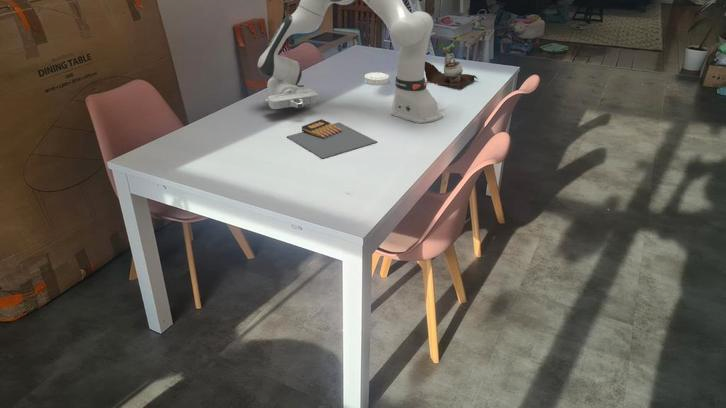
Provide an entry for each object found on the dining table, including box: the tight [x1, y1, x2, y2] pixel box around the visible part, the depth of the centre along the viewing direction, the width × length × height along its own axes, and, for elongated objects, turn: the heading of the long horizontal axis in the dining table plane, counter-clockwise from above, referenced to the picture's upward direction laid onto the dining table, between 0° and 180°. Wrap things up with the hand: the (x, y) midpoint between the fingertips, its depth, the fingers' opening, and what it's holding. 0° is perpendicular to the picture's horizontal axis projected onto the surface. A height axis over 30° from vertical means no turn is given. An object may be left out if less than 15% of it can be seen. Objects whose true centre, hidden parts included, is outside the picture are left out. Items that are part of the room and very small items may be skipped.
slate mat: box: [286, 121, 378, 160], centre depth 194 cm, size 24×24×1 cm
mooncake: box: [364, 71, 390, 86], centre depth 257 cm, size 12×12×4 cm
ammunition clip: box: [301, 118, 342, 138], centre depth 200 cm, size 11×2×12 cm
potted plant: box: [424, 34, 479, 90], centre depth 254 cm, size 20×19×25 cm
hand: (300, 105), depth 208 cm, fingers closed
